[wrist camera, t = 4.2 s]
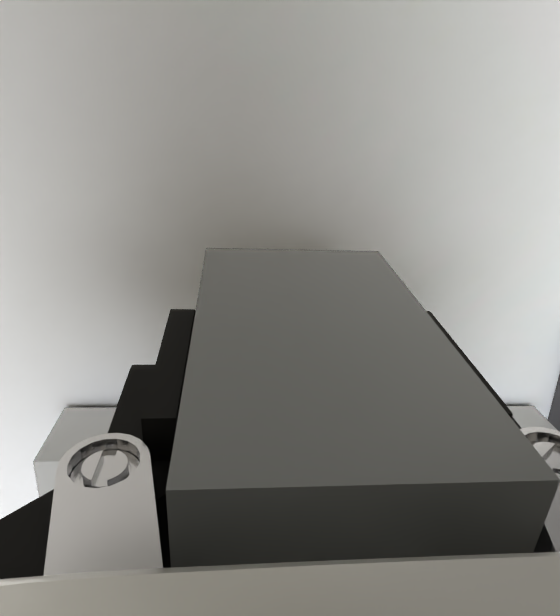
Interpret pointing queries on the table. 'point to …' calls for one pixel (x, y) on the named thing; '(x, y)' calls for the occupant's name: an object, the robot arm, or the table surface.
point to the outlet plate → (97, 421)
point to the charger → (338, 424)
